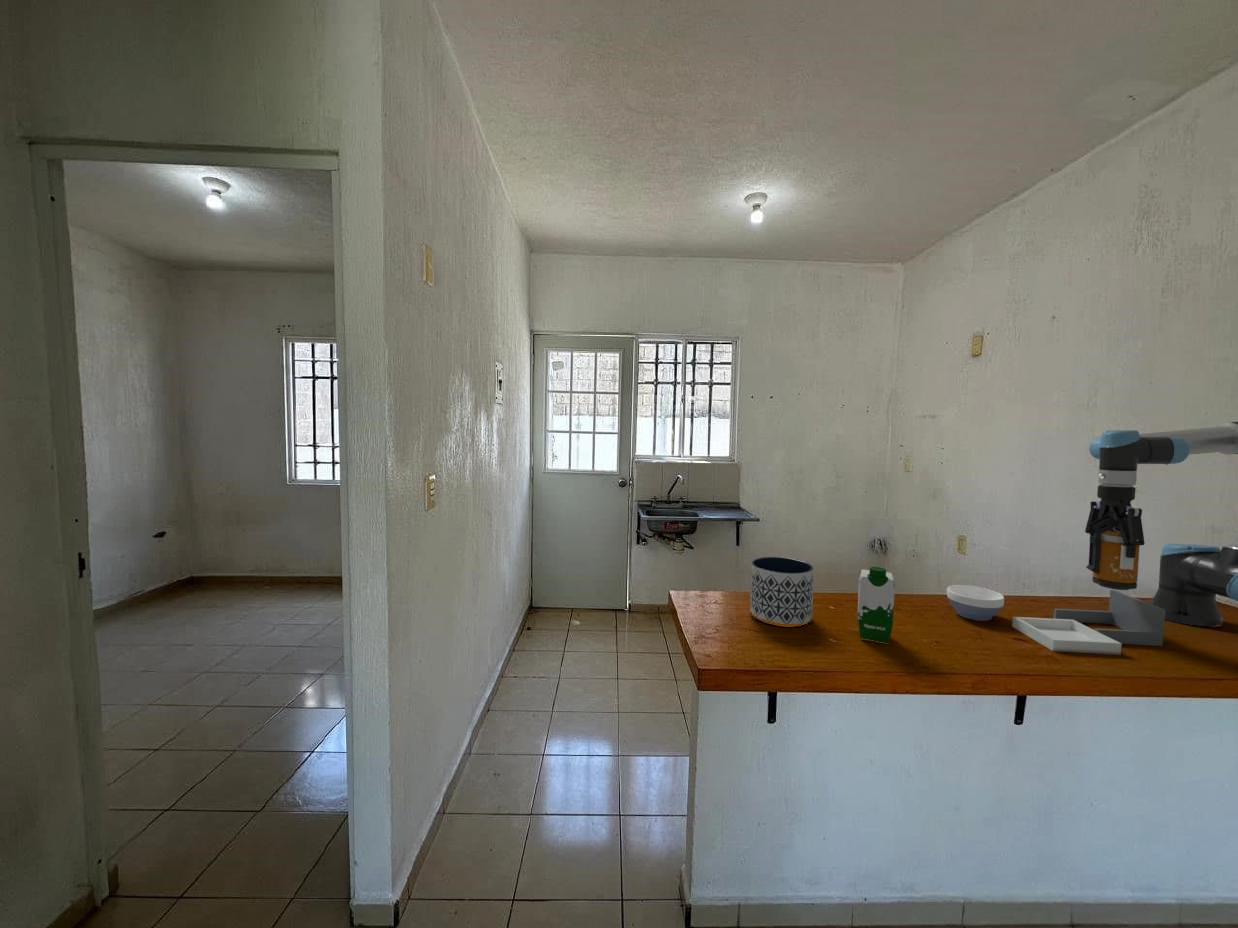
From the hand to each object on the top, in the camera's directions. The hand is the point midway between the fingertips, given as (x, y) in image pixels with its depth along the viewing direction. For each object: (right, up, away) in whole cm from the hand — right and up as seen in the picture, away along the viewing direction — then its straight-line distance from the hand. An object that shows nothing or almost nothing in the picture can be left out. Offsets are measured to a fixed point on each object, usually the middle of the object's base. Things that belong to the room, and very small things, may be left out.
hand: (1111, 563), depth 141 cm
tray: (-17, -20, -4) cm, 27 cm away
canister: (0, -7, +1) cm, 7 cm away
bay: (0, -20, +2) cm, 20 cm away
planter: (-90, -19, +12) cm, 93 cm away
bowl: (-30, -19, +13) cm, 38 cm away
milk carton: (-69, -20, -3) cm, 72 cm away
